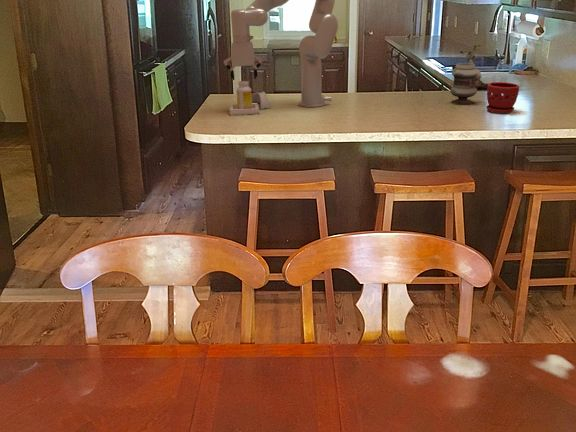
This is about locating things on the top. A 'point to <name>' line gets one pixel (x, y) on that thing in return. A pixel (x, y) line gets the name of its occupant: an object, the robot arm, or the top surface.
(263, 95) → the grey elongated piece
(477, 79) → the potted plant
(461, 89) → the apothecary jar
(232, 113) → the ceramic tray
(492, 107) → the plant pot
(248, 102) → the supplement bottle
